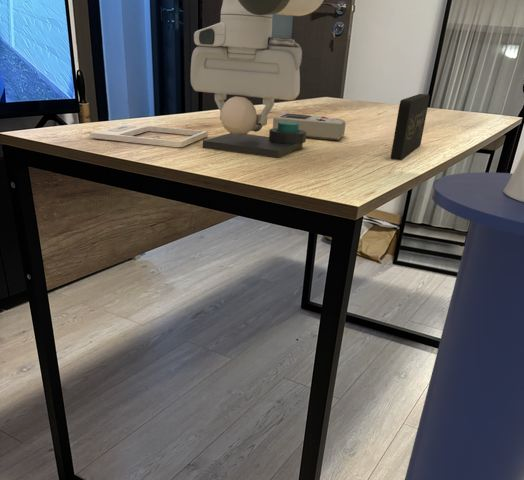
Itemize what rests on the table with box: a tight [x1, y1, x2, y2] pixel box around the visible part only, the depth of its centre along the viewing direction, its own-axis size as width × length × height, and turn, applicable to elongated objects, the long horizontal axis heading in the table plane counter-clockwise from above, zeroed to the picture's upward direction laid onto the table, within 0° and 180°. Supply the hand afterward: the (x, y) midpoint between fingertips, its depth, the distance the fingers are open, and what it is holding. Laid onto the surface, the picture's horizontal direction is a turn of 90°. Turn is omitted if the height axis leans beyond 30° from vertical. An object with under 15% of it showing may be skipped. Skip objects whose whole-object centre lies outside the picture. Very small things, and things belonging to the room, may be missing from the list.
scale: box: [202, 127, 307, 159], centre depth 101 cm, size 16×14×3 cm
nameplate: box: [390, 93, 431, 161], centre depth 104 cm, size 21×2×10 cm, turn 156°
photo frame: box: [89, 122, 209, 148], centre depth 104 cm, size 15×1×18 cm
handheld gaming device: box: [272, 112, 346, 141], centre depth 117 cm, size 9×15×4 cm, turn 74°
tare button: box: [277, 122, 299, 133], centre depth 102 cm, size 4×4×2 cm
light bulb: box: [220, 95, 264, 135], centre depth 99 cm, size 7×7×11 cm
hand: (243, 122), depth 99 cm, fingers closed on light bulb, 6 cm apart
